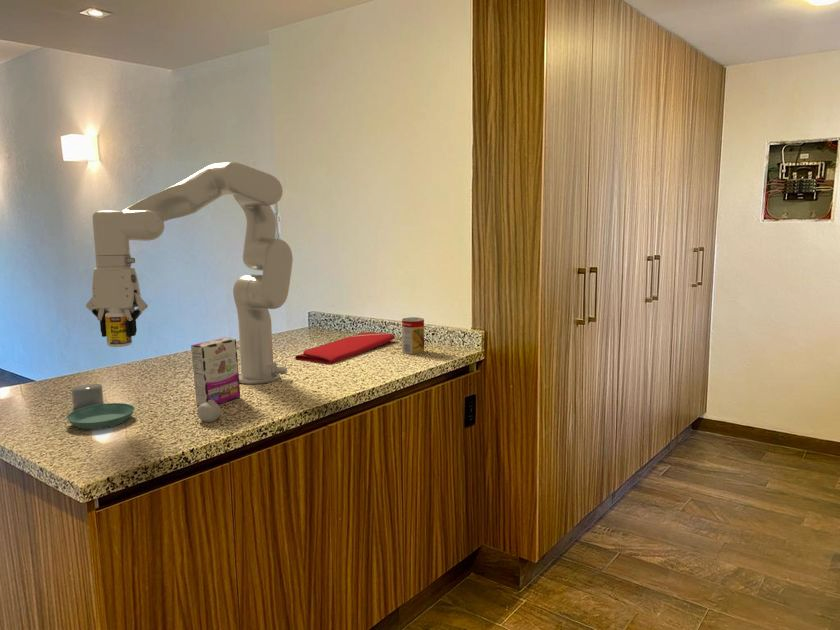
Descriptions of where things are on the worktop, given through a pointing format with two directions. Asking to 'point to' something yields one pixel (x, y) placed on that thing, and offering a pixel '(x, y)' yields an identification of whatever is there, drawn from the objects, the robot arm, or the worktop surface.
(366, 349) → the dish drying mat
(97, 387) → the grey short cylinder
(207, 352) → the candy bar box
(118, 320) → the supplement bottle
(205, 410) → the garlic
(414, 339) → the canned food
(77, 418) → the saucer
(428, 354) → the worktop surface
